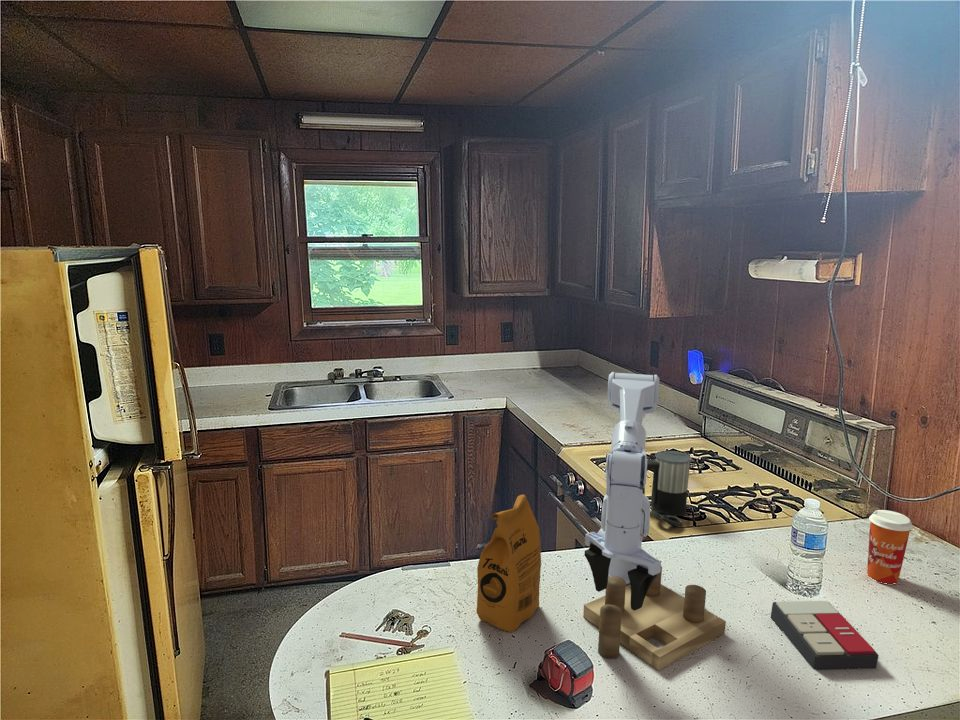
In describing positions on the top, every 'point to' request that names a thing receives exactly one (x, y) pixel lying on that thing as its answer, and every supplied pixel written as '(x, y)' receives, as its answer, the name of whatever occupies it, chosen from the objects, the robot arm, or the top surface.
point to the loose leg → (609, 631)
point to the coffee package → (510, 569)
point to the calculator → (823, 636)
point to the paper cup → (887, 545)
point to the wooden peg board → (660, 620)
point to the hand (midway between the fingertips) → (618, 598)
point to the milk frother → (669, 485)
